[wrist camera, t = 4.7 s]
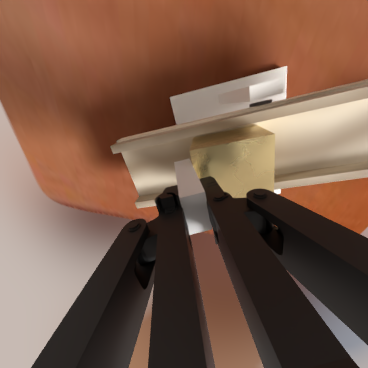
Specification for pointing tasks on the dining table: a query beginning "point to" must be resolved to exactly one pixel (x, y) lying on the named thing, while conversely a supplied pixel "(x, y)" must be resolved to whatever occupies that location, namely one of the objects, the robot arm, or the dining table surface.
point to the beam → (284, 140)
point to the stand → (230, 96)
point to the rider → (236, 159)
